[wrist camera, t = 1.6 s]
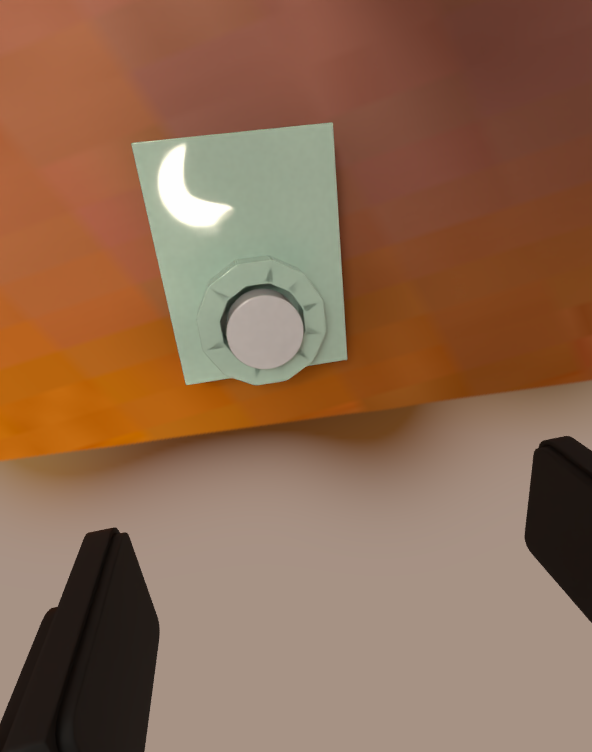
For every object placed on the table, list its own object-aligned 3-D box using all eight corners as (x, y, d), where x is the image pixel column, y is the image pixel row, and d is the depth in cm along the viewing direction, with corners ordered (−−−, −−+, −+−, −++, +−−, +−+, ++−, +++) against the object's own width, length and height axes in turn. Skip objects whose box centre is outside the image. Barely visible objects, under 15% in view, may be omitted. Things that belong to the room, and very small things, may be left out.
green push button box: (141, 147, 24) (123, 139, 20) (319, 129, 25) (342, 117, 21) (189, 365, 30) (183, 398, 25) (335, 343, 31) (355, 370, 26)
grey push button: (220, 293, 24) (220, 301, 22) (294, 283, 24) (299, 290, 22) (232, 363, 25) (233, 375, 24) (301, 352, 26) (307, 363, 24)
